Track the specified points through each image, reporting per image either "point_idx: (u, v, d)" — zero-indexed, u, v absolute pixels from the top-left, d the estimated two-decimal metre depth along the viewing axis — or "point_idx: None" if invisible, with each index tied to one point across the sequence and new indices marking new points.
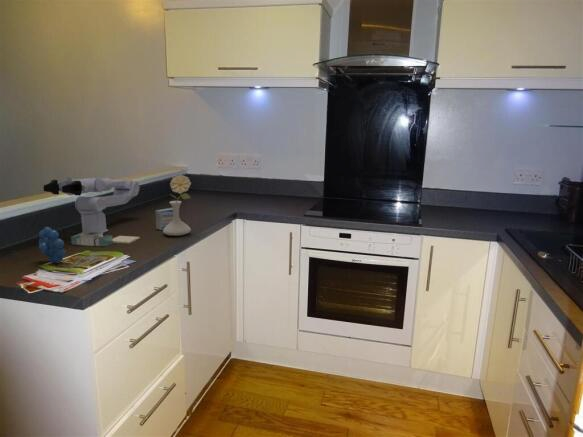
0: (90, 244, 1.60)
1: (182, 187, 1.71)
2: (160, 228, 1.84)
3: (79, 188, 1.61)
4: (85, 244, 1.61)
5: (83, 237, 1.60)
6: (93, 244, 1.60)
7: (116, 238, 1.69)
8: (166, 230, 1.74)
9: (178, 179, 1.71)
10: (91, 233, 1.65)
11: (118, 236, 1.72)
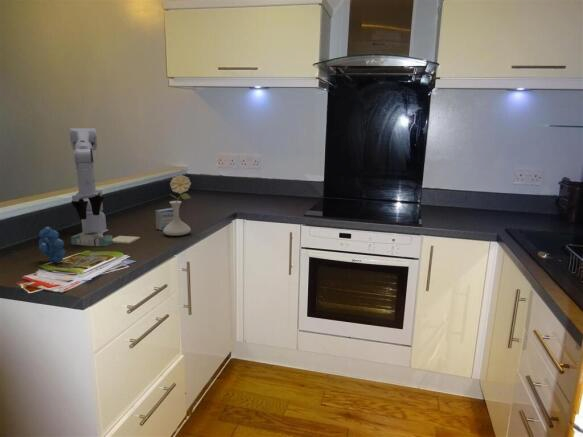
0: (90, 244, 1.60)
1: (182, 187, 1.71)
2: (160, 228, 1.84)
3: None
4: (85, 244, 1.61)
5: (83, 237, 1.60)
6: (93, 244, 1.60)
7: (116, 238, 1.69)
8: (166, 230, 1.74)
9: (178, 179, 1.71)
10: (91, 233, 1.65)
11: (118, 236, 1.72)
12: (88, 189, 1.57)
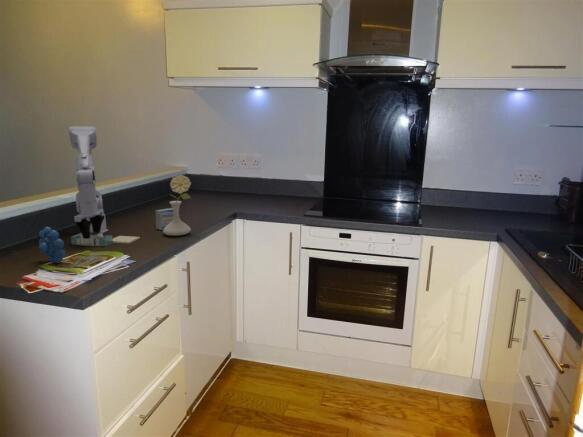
0: (90, 244, 1.60)
1: (182, 187, 1.71)
2: (160, 228, 1.84)
3: None
4: (85, 244, 1.61)
5: None
6: (93, 244, 1.60)
7: (116, 238, 1.69)
8: (166, 230, 1.74)
9: (178, 179, 1.71)
10: (91, 233, 1.65)
11: (118, 236, 1.72)
12: (90, 209, 1.58)
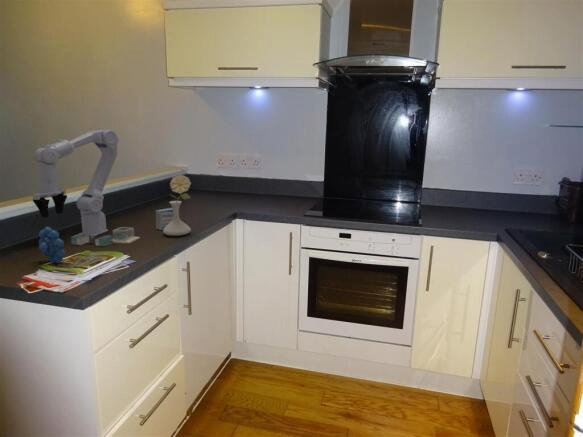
0: (122, 239, 1.65)
1: (182, 187, 1.71)
2: (160, 228, 1.84)
3: None
4: (117, 239, 1.66)
5: (115, 232, 1.65)
6: (125, 239, 1.65)
7: None
8: (166, 230, 1.74)
9: (178, 179, 1.71)
10: (123, 228, 1.70)
11: None
12: (50, 187, 1.60)
